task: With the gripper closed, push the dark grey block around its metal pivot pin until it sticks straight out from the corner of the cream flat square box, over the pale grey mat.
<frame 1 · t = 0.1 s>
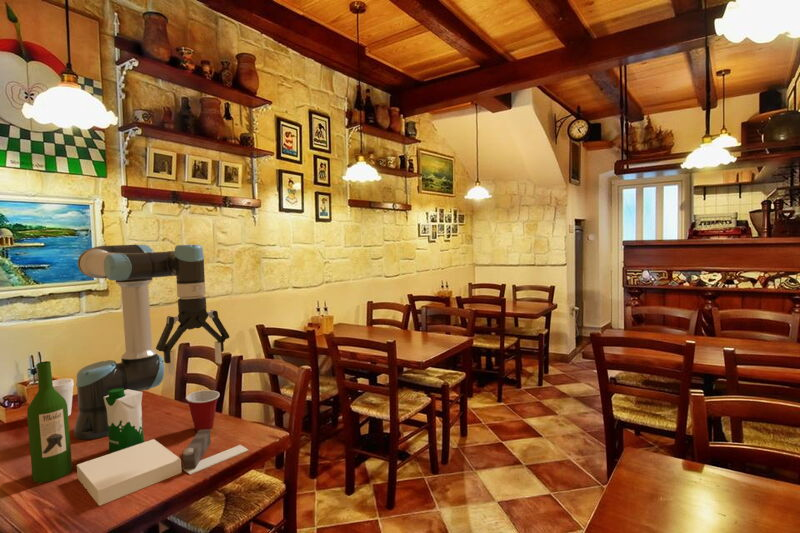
hand: (196, 368, 132), 28 cm above the table, tool pointing down, fingers open, 13 cm apart
dark grey block: (196, 447, 134), point 3 cm above the table, hinge at 40.0°
foam cup: (60, 416, 170), on the table
plastic cup: (204, 428, 155), on the table
cream flat square box: (130, 475, 125), on the table
milk carton: (127, 450, 141), on the table
wine bottle: (53, 475, 127), on the table
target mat: (216, 459, 133), on the table
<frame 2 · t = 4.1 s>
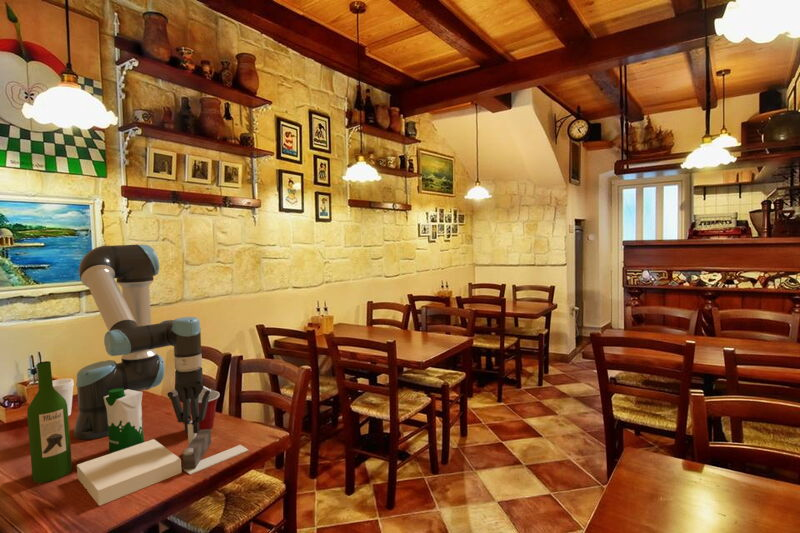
hand: (192, 443, 137), 3 cm above the table, tool pointing down, fingers closed
dark grey block: (197, 447, 134), point 3 cm above the table, hinge at 40.7°, touching gripper
everything else where it was.
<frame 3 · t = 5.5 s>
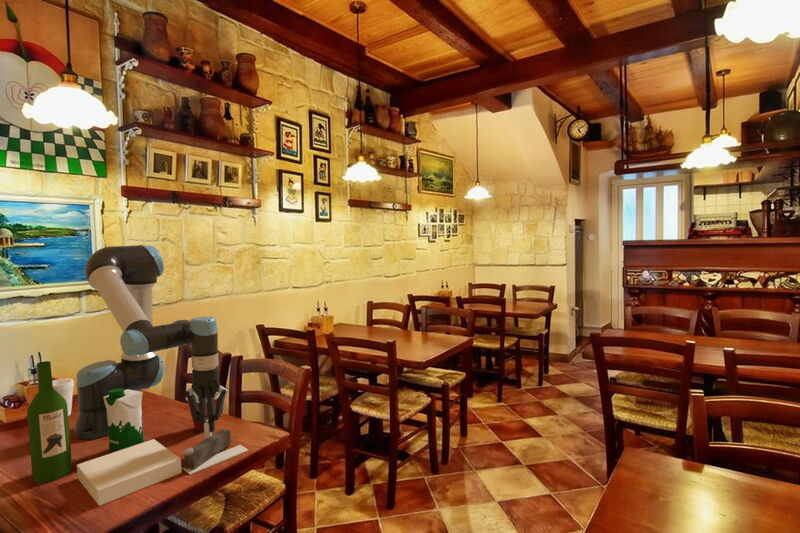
hand: (208, 441, 138), 3 cm above the table, tool pointing down, fingers closed
dark grey block: (207, 447, 134), point 3 cm above the table, hinge at 65.4°, touching gripper
everything else where it was.
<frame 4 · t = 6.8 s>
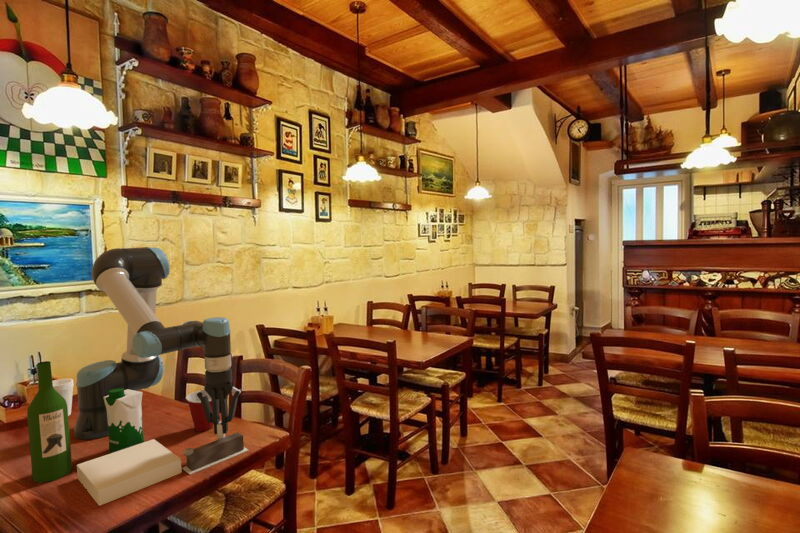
hand: (221, 443, 137), 3 cm above the table, tool pointing down, fingers closed
dark grey block: (213, 449, 132), point 3 cm above the table, hinge at 89.5°, touching gripper
everything else where it was.
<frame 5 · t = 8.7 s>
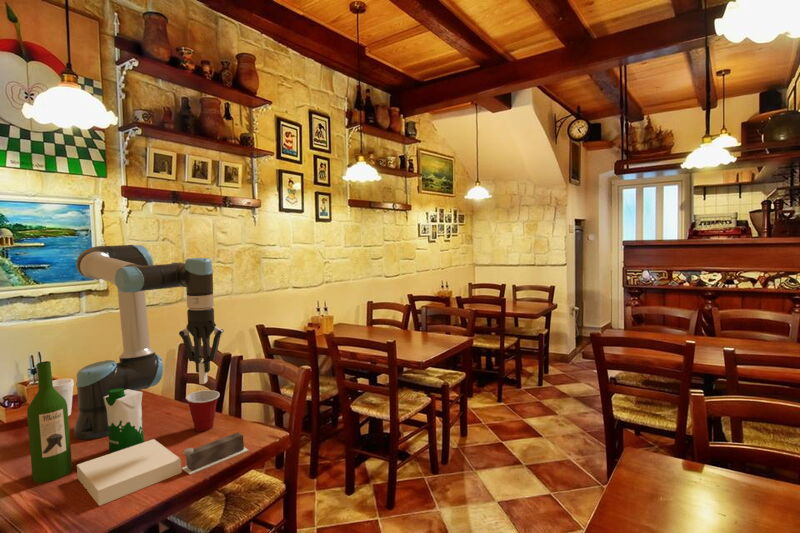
hand: (203, 382, 139), 21 cm above the table, tool pointing down, fingers closed
dark grey block: (213, 449, 132), point 3 cm above the table, hinge at 89.6°
everything else where it was.
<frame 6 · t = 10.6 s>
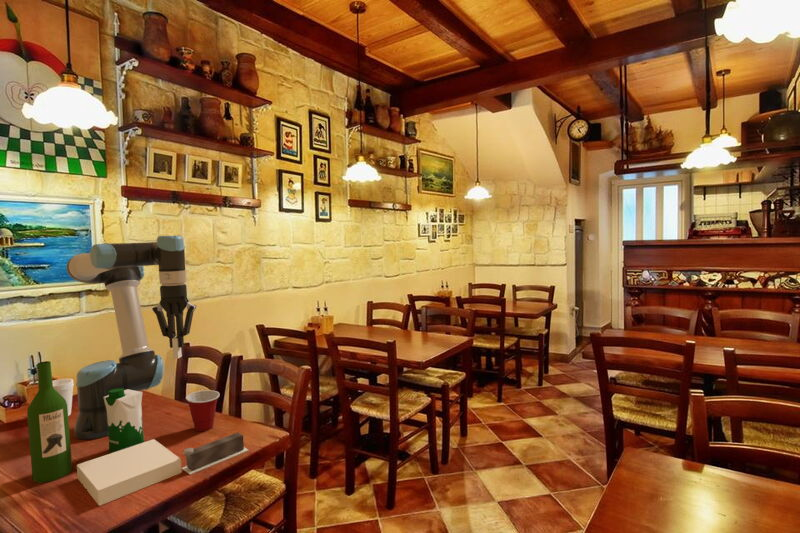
hand: (177, 357, 142), 28 cm above the table, tool pointing down, fingers closed
nothing on the table moved.
at the end: dark grey block at +90° (first picture: +40°) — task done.
